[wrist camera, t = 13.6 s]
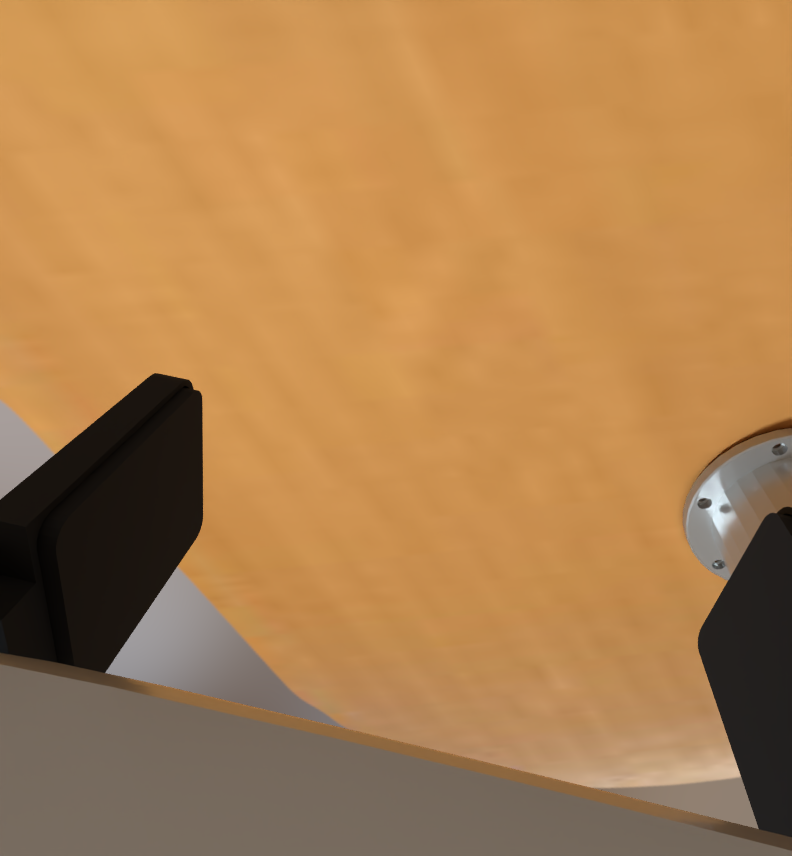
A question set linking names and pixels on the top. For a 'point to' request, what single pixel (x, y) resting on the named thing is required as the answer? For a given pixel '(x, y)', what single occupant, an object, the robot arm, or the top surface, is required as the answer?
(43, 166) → the top surface
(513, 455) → the top surface
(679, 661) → the top surface
